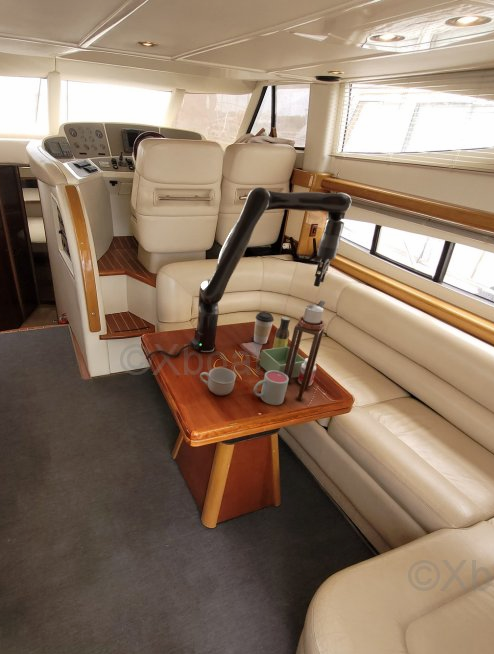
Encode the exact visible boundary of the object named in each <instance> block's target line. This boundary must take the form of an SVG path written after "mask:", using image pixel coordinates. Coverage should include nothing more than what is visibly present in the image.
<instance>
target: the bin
mask: <svg viewBox="0 0 494 654" xmlns="http://www.w3.org/2000/svg"><path fill="white" fill-rule="evenodd" d="M289 349H290V346H288V345H287V347H280V348H273V347H272V348H268V349H261V353H260V359H259V364H258V365H259V367H261V368H262V369H263V370H264V371H266V372H268V371H280V372H282V373H284V370H285V366H286V362H287V357H288V353H289ZM293 352H294V351H293ZM292 357H293V355H292ZM305 359H306V358H304V357H302V356H301V355H300V354H298V353H297V357H296V361H295V365H294V369H293V373H292V377H291V379H293V378H294V379H295V378H298V377H299V373H300V370H301V366H302V364H303V363H304V361H305ZM291 361H292V359H291ZM290 365H291V363H290ZM289 369H290V368H289ZM288 373H289V372H288Z"/></svg>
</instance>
